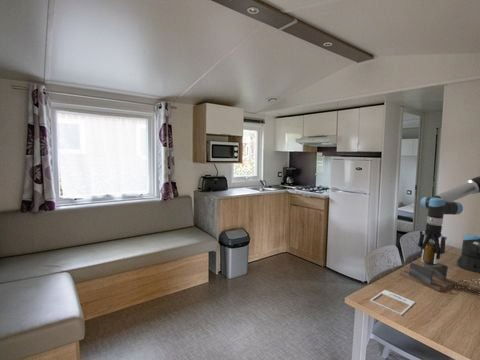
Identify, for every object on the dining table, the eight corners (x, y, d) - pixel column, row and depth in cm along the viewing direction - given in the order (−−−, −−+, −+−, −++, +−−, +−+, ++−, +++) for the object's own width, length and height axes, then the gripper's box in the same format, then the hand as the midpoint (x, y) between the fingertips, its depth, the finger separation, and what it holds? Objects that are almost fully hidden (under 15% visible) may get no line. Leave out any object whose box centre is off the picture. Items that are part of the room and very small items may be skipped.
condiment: (429, 260, 164) (431, 241, 163) (442, 266, 156) (444, 246, 155) (419, 260, 163) (421, 241, 162) (432, 266, 155) (434, 246, 153)
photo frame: (415, 301, 135) (401, 314, 124) (414, 303, 135) (401, 316, 124) (384, 289, 146) (369, 299, 135) (384, 291, 146) (369, 301, 135)
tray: (416, 270, 175) (418, 255, 174) (455, 285, 156) (458, 269, 155) (399, 274, 167) (401, 259, 166) (439, 292, 148) (441, 274, 147)
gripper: (413, 220, 164) (409, 256, 167) (449, 229, 148) (443, 269, 150) (420, 219, 168) (416, 254, 170) (456, 227, 151) (450, 267, 154)
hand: (429, 261), depth 160 cm, fingers closed on condiment, 6 cm apart
